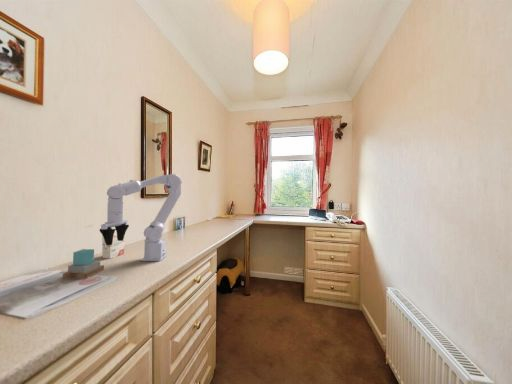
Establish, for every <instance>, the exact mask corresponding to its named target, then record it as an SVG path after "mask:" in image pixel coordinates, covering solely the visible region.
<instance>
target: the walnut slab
mask: <svg viewBox="0 0 512 384" xmlns="http://www.w3.org/2000/svg"><path fill="white" fill-rule="evenodd" d="M104 270H105V265H102V264H100V267H99V268H97V269H94V270H92V271H89V272H87V273H85V274H83V273H68V271H66V272H64V273H62V279H63V278H87V279H89V278H91V277H93V276H95V275H96V274H98V273H100V272H103V271H104ZM88 277H89V278H88Z"/></svg>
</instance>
